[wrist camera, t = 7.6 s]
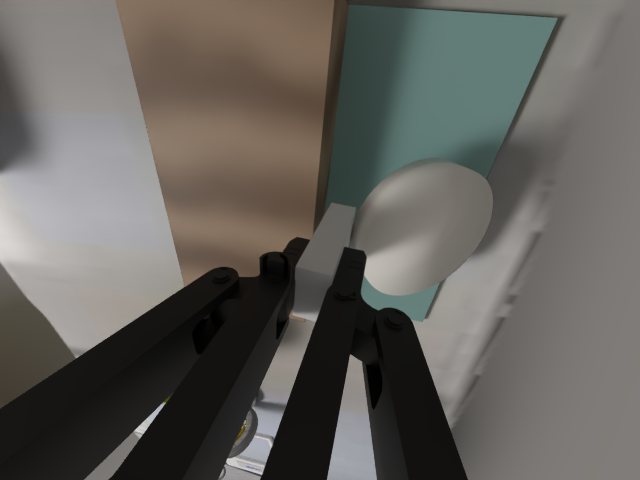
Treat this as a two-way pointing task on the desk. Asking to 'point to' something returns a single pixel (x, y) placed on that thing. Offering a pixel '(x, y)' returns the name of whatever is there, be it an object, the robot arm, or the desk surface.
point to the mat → (425, 100)
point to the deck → (238, 120)
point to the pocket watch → (244, 435)
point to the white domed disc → (421, 224)
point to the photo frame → (248, 462)
